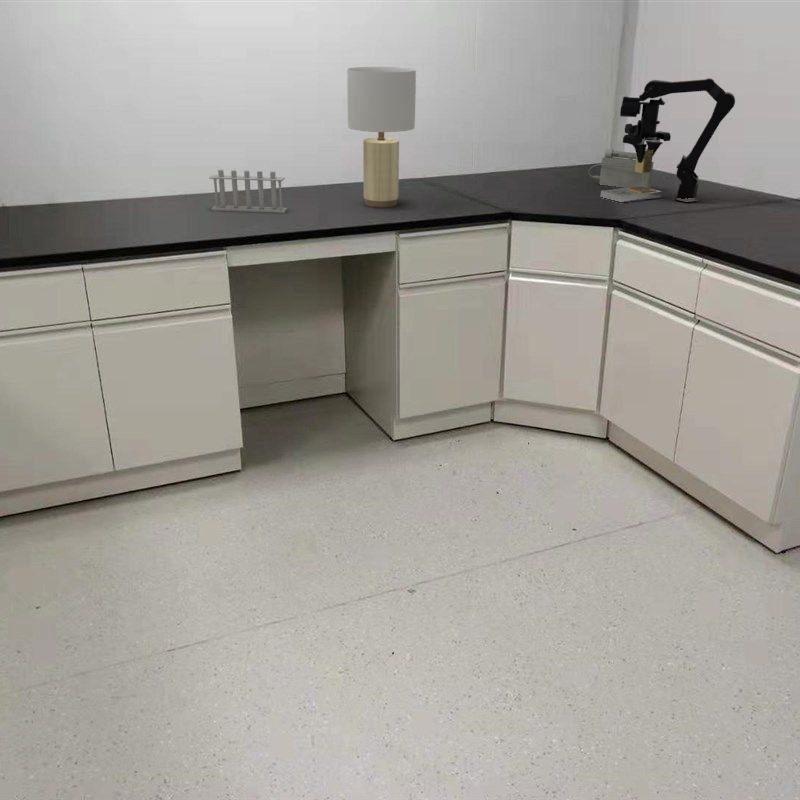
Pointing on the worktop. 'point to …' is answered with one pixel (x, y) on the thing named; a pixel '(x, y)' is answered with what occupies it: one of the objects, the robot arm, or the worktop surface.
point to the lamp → (381, 125)
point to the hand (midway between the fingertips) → (643, 162)
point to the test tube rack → (248, 192)
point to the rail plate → (630, 193)
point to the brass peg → (644, 162)
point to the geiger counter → (621, 170)
